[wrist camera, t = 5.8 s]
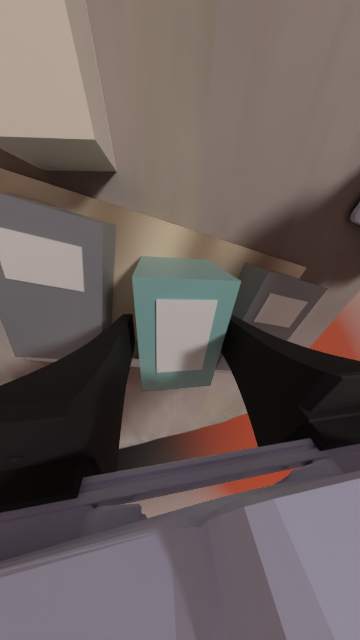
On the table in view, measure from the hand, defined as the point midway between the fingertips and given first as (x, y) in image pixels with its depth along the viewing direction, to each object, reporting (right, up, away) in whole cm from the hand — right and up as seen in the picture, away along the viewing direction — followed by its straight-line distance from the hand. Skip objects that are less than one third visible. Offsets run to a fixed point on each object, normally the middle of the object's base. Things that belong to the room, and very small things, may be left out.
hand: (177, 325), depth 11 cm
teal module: (0, +2, +3) cm, 3 cm away
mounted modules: (-1, +2, +3) cm, 4 cm away
